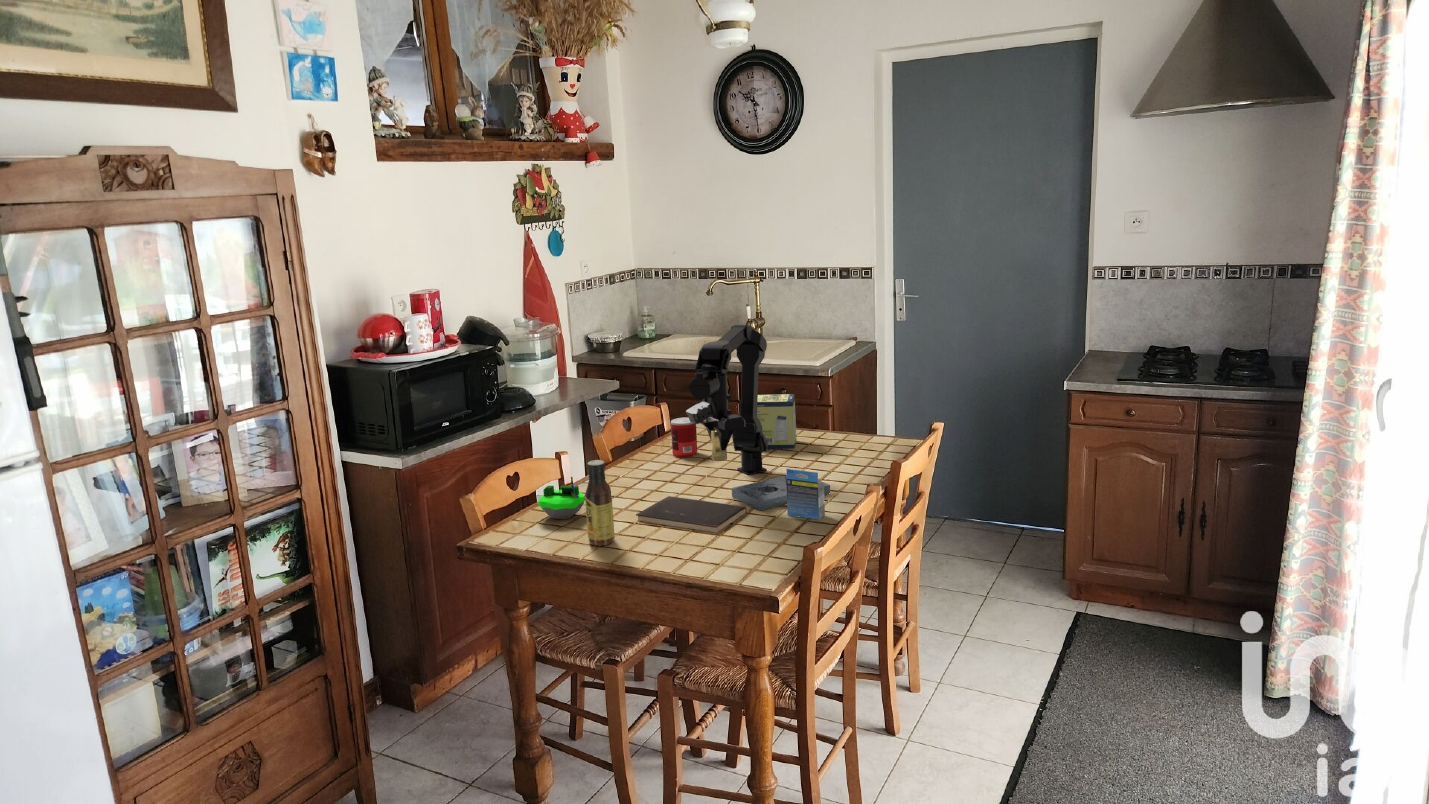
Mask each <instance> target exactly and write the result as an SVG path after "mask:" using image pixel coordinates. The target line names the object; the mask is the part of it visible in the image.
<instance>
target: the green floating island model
mask: <svg viewBox="0 0 1429 804" xmlns="http://www.w3.org/2000/svg"><path fill="white" fill-rule="evenodd" d="M570 482H571V485H568V484H567V485H565V484H563V485H562V484H561V485H560V486H559V488H558V489H555V487H554V485H547V486H545V487H544V489H543V491H542V492H543V495H542V496H539V499H538V502H537V505H538V506H539V507H540V508H541V509H542V511H544V513H545V514H547V516H549V517H550V518H551V519H553V520H554V519H555V520H557V519H558V520H569V518H572V517H573V516H575V515H576V514H577V513H579V512H580V511H581V509H582V507H583V505H584V503H585V494H583V492H582V491H580V490H579V487H580V486H579V485H575V484H574V482H573V476H571V477H570Z"/></svg>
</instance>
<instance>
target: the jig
mask: <svg viewBox="0 0 1429 804" xmlns="http://www.w3.org/2000/svg"><path fill="white" fill-rule="evenodd" d="M796 476H797V477H800V478H807V476H804V475H803V474H801V475H796ZM818 482H819V483H823V484H824V496H828V495H830V494H831V484H829V483H826V482H823V481H821V480H820V479H818ZM829 493H830V494H829ZM827 494H828V495H827ZM731 497H732V498H733V499H736V500H738V501H740V502H742V503H744V504H746V505H748V506H750V507H752V508H754V509H756V510H758V511H761V510H762V511H766V510H769V509H772V508H773V507H774V508H777V507H778V508H779V507H782V505H783V506H786V505H785V504H787V488H786V474H785V475H782V476H780V477H774V478H771V479H766V480H761V481H757V482H752V483H748V484H744V485H739V486H735V487H731Z"/></svg>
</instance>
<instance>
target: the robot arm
mask: <svg viewBox="0 0 1429 804" xmlns="http://www.w3.org/2000/svg"><path fill="white" fill-rule="evenodd" d="M767 347H768V342H767V339H766V338H765V337H764V335H763V334H762V333H760V332H759V331H756V330H754V329H753V328H752V327H751V326H750V325H748V324H734V325H731V328H730V329H729V330H728V331H727V332H726V333H725V334H724V335H722V336H721V337H720V338H718V339H717V340H715V341H710V342H707V343H705V344H704V343H703V345H702V346H701V348H700V349H699V352H698V357H697V362H696V365H695V369H694V372H695V376H696V377H695V378H694V379H692V381H691V382H690V385H689V391H690V394H691V396H692V397H694V399H697V400H701V402H699V403H696V404H695V405H693V406H691V407H689V408H688V409H686V410H685V413H686V415H687V418H689V420H690V422H694V423H695V424H696V425H699V424H701V425H702V426H703V427H705V429H706V431H707V433H708V437H709V439H710V441H711V430H712V429H715V430H716V431H718V433H719V440H720V446H721V450H722V451H724V450H726V448H727V447H728V446H729V443H730V440H732V443H733V448H734V451H735V452H740V458H741V467H737V468H736V470H737V471H739V472H741V473H743V474H745V475H753V474H757V473H758V474H759V473H763V472H767V470H768V469H767V468H765V467H763V455H762V454H763V453H766V452H768V449H767V447H768V441H767V439H766V438H765V436H764V434H763V432H762V425H761V423H760V421H759V419H758V418H757V401H758V395H759V394H758V393H759V372H760V371H759V367H760V365H761V363H762V362H763V361H764V360H765V357H766V351H767ZM734 351H736V358H737V359H738V361H739V363H740V365H741V382H740V383H741V387H740V415H739V414H732V410H731V409H729V400H731V399H732V395H731V394H729V392H728V375H727V374H728V373H727V372H729V371H730V369H729V364H730V362H731V361H732V353H733V352H734ZM731 438H732V439H731Z"/></svg>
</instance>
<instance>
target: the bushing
mask: <svg viewBox="0 0 1429 804" xmlns="http://www.w3.org/2000/svg"><path fill="white" fill-rule="evenodd" d="M710 442H711V460H712V461H714V462H724V461H727V460H728V453H727V451H728V450H727V448H726V450H724V451H722V450H721V446H720V440H719V433H718V431H716V430H715V429H712V430H711V440H710Z"/></svg>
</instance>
